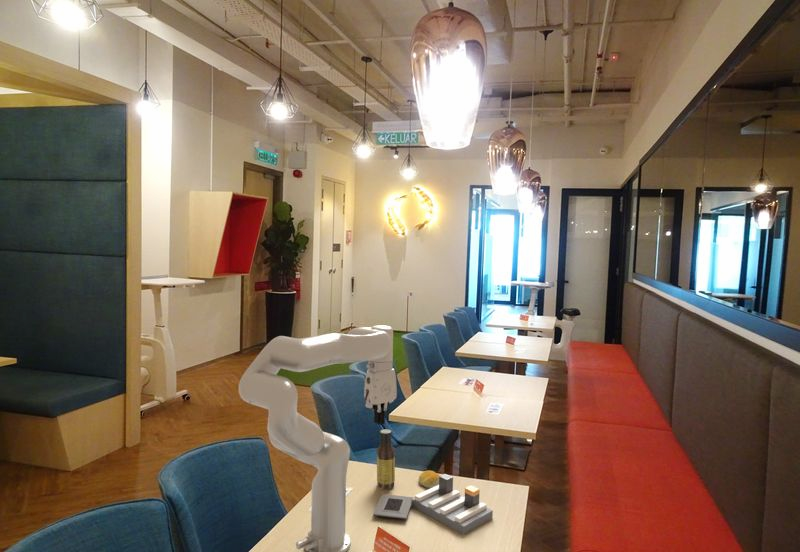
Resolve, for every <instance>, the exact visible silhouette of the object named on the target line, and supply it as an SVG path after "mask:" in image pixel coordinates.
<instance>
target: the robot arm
mask: <svg viewBox="0 0 800 552" xmlns="http://www.w3.org/2000/svg"><path fill="white" fill-rule="evenodd" d="M393 351H394V330H393V327H391V326H389V325H383V324H381V325H380V324H379V325H372V326H370V327H368V326H367V327H366V326H365V327H360V326H359V327H357V326H356V327H353V328H351V329H350V330H349V331H348V332H347V333H339V332H337V333H336V332H333V333H332V332H331V333H330V332H329V333H325V334H319V335H314V336H308V337H301V338H295V337H290V336H285V335H279V336H276V337H274V338H272V339H271V340H270V341H269V342H267V344H266V345H265V346H264V347H263V349H261V351H260V352H259V354H257V356H256V357H255V358H254V360H253V361H252V362H251V364H250V365H249V366H248V368H247V369H246V370H245V372H244V373H243V375H241V378H240V379H239V383H238V386H237V387H238V395H239V397H240V398H241V399H242V400H243V402H246V403H248V404H249V405H253V406H257V407H259V408H262V409H265V410H268V417H267V424H266V427H267V433H268V439H269V441H270V443H271V445H272V446H273V447H274V448H276V449H277V450H279V451H281V452H282V453H284V454H286V455H288V456H290V457H291V458H294V459H295V460H297V461H299V462H302V463H304V464H308V465H310V466H312V467H315V468H316V469H317V473H316V474H315V476H314V477H313V479H312V482H311V512H310V513H311V517H310V518H311V519H310V521H311V529H310V531H307V536H305V538H304V539H300V540H299V541H297V542H296V543H295V548H296V549H297V550H300V549H303V548H305V551H306V552H347V551H348V550H349V549H350V547H351V538H350V537H351V536H350V535H349V534H348V533H347V532H346V513H347V512H346V510H347V509H346V508H347V505H346V503H347V500H346V496H347V488H346V487H347V485H346V484H347V471H348V465H349V462H350V457H351V448H350V445H349V443H348V442H347V441H346V440H345V439H344V438H343V437H340V436H338V435H336V434H332V433H329V432H325V431H323V430H322V429H321V427H320V426H319V425H318V424H317V423H315V422H314V421H312V420H310V419H308V418H306V417H305V416H303V415H302V414H300V413H299V412H298V409H297V407H298V400H299V396H298V395H299V394H298V390H297V388H296V385H295V383H294V382H292V380H290V379H288V377H285V376H283V375H282V376H281V375H280V374H279V375H278V373H279V371H280V370H281V369H283V370H286V371H291V372H294V373H295V372H296V373H303V372H308V371H312V370H316V369H318V368H319V369H320V368H323V367H327V366H331V365H335V364H339V365H340V364H351V363H362V362H363V363H365V362H368V364H367V363H366V366H365V367H366V369H367V371H366V374H365V380H364V389H363V390H364V391H363V393H364V394H363V397H364V402H365V407H366V408H367V409H372V411H374V412H373V415H374V416H373V418H374V419H373V421H374V422H373V423H374V424H377V425H379V426H381V425H385V423H386V419H385V418H386V411H387V409H388V406H389V405H390V404H392V403H393V402H394V401H395V400H396V399H397V395H398V390H397V376H396V371H395V368H393V367H394V365H393V361H394V359H393V358H394V357H393V356H394V355H393V353H394V352H393Z"/></svg>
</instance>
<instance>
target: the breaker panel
mask: <svg viewBox="0 0 800 552" xmlns="http://www.w3.org/2000/svg"><path fill="white" fill-rule="evenodd" d="M464 503H465V495H464V496H463V495H462V494H461V492H460V491H459V490H457V489H453V491H452V492H450V493H448V494H445V495H443V494H441V493H439V485H437V486H435V487H433V488H427V490H424V491H422V492H420V493H417V494H415V495H414V497H413V498H412V504H411V507H412V508H414V509H416V510H417V511H419V512H421V513H423V514H425V515H427V516H428V517H430V518H432V519H435V520H436V521H438V522H439V523H442V524H444V526H445V525H446V526H447V527H449V528H450V529H452V530H454V531H456V532H458V533H460V534H462V536H463V535H465V534H467V533H469V532H471V531H473V530H474V529H476V528H478V527H480V526H481V525H484V524H485V523H486V522H488V521H491V519H493V513H494V510H493V509H490V508H488V506H487V505H488V504H486V503H485V502H482V501H481V502H479V504H477V505H476V506H474V507H472V508H470V507H468V506H466V505H464Z"/></svg>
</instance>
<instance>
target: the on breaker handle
mask: <svg viewBox="0 0 800 552" xmlns="http://www.w3.org/2000/svg"><path fill="white" fill-rule="evenodd" d="M453 484H454V477H453V476H451V475H449V474H447V473H443V474H442V475H440V476H439V493H441V494H443V495H445V494H448V493H450V492H452V491H454V485H453Z"/></svg>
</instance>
